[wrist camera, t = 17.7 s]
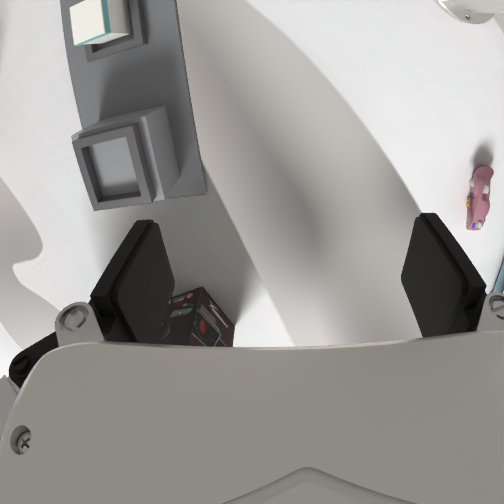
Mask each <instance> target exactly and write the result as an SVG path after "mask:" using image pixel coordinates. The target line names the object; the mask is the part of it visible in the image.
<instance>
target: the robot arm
mask: <svg viewBox="0 0 504 504" xmlns="http://www.w3.org/2000/svg"><path fill="white" fill-rule="evenodd" d="M435 1H436V2H437V3H438V4H439V6H441V7H442V8H443V9H444V10H445V11H446V12H447V13H448V14H450V15H451V16H453V17H454V18H456V19H458V20H460V21H462V22H465V23H470V24H482V23H485V22H487V21H489V20H490V19H491V18H492V17H493V15H494V14H495V13H504V0H435ZM401 281H402V285H403V287H404V289H405V292H406V294H407V297H408V299H409V302H410V304H411V307H412V309H413V312H414V315H415V317H416V320H417V323H418V325H419V328H420V331H421V334H422V336H423V338H416V339H406V340H397V341H386V342H375V343H361V344H346V345H328V346H303V347H206V346H182V345H163V344H156V340H157V337H158V334H159V331H160V328H161V325H162V322H163V319H164V316H165V313H166V310H167V307H168V304H169V301H170V298H171V296H172V293H173V290H174V277H173V274H172V271H171V267H170V264H169V260H168V257H167V254H166V250H165V246H164V243H163V239H162V236H161V232H160V228H159V225H158V224H157V223H154V222H153V220H138V221H136V222H135V224H134V225H133V227H132V228H131V230H130V231H129V233H128V234H127V236H126V237H125V239H124V240H123V242H122V244H121V245H120V247H119V248H118V250H117V251H116V253H115V255H114V256H113V258H112V259H111V261H110V263H109V264H108V266H107V268H106V269H105V271H104V272H103V274H102V276H101V277H100V279H99V281H98V283H97V284H96V286H95V288H94V289H93V291H92V293H91V295H90V297H91V300H90V301H89V303H86V302H75V303H73V304H70V305H68V306H67V307H65V308H64V309H63V310H62V311H61V312H60V313H59V314H58V316H57V318H56V321H55V330H56V331H55V332H53V333H52V334H50V335H49V336H47V337H45V338H43V339H42V340H40V341H38V342H37V343H35V344H33V345H31V346H30V347H28V348H27V349H25V350H23V351H21V352H20V353H19V354H17V355H16V356H15V358H14V359H13V360H12V362H11V364H10V367H9V377H8V378H7V377H6V376H5V375H4V376H3V377H2V378H1V379H0V504H504V294H503V293H500V292H491V293H489V294H488V295H487V294H486V292H485V289H486V284H485V282H484V281H483V279H482V278H481V276H480V274H479V273H478V271H477V270H476V268H475V267H474V265H473V264H472V262H471V261H470V259H469V258H468V256H467V255H466V253H465V252H464V250H463V249H462V248H461V246H460V245H459V243H458V242H457V241H456V239H455V238H454V236H453V235H452V234H451V232H450V231H449V230H448V228H447V227H446V226H445V224H444V223H443V222H442V220H441V219H440V218H439V217H438V215H437V214H436V213H421V214H420V215H419V217H416V219H415V222H414V227H413V231H412V236H411V240H410V244H409V248H408V252H407V256H406V259H405V263H404V266H403V271H402V274H401Z"/></svg>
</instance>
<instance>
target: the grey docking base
mask: <svg viewBox="0 0 504 504" xmlns="http://www.w3.org/2000/svg"><path fill="white" fill-rule="evenodd" d="M82 1H85V0H60V4H61V14H62V23H63V31H64V39H65V46H66V52H67V58H68V64H69V70H70V75H71V80H72V85H73V90H74V95H75V100H76V104H77V109H78V113H79V117H80V121H81V125H82V129H83V130H81V131H79V132H77V133H76V134H74V135H72V136H71V137H72V141H73V142H72V144H73V148H74V151H75V155H76V158H77V161H78V165H79V168H80V171H81V174H82V177H83V180H84V183H85V186H86V189H87V192H88V195H89V198H90V201H91V204H92V207H93V209H94V211H98V210H104V209H112V208H119V207H126V206H134V205H142V204H150V203H152V202H154V201H162V200H165V199H166V198H175V197H184V196H194V195H204V194H206V192H207V189H206V183H205V178H204V173H203V167H202V162H201V156H200V150H199V145H198V139H197V134H196V128H195V122H194V117H193V111H192V104H191V98H190V92H189V85H188V79H187V73H186V66H185V60H184V53H183V47H182V39H181V32H180V25H179V17H178V10H177V3H176V0H127V5H128V13H129V20H130V28H131V34H130V35H127V36H124V37H121V38H118V39H115V40H112V41H109V42H106V43H101V44H83V45H77V46H75V45H74V40H73V33H72V25H71V16H70V7H72V6H74V5H76V4H78V3H80V2H82Z"/></svg>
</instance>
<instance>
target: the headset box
mask: <svg viewBox="0 0 504 504" xmlns="http://www.w3.org/2000/svg"><path fill="white" fill-rule="evenodd" d="M234 330H235V326H234V325H233V324H232V323H231V322H230V321H229V319H228V318H227V317H226V316H225V314H224V313H223V312H222V311H221V309H220V308H219V307H218V306H217V304H216V303H215V302H214V301H213V299H212V298H211V297H210V296H209V294H208V293H207V292H206V291H205V289H204V288H203V287H201V288H198V289H195V290H192V291H190V292H187V293H184V294H181V295H178V296H176V297H173V298H170V301H169V304H168V307H167V310H166V313H165V316H164V319H163V322H162V325H161V328H160V331H159V334H158V337H157V340H156V344H163V345H182V346H206V347H233V338H234Z"/></svg>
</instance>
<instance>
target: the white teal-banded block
mask: <svg viewBox="0 0 504 504" xmlns="http://www.w3.org/2000/svg"><path fill="white" fill-rule="evenodd" d="M70 16H71V25H72V33H73V40H74V45H75V46H77V45H83V44H101V43H106V42H109V41H112V40H115V39H118V38H121V37H124V36H127V35H130V34H131V28H130V20H129V13H128V5H127V0H85V1H82V2H80V3H78V4H76V5H74V6H72V7H70Z"/></svg>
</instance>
